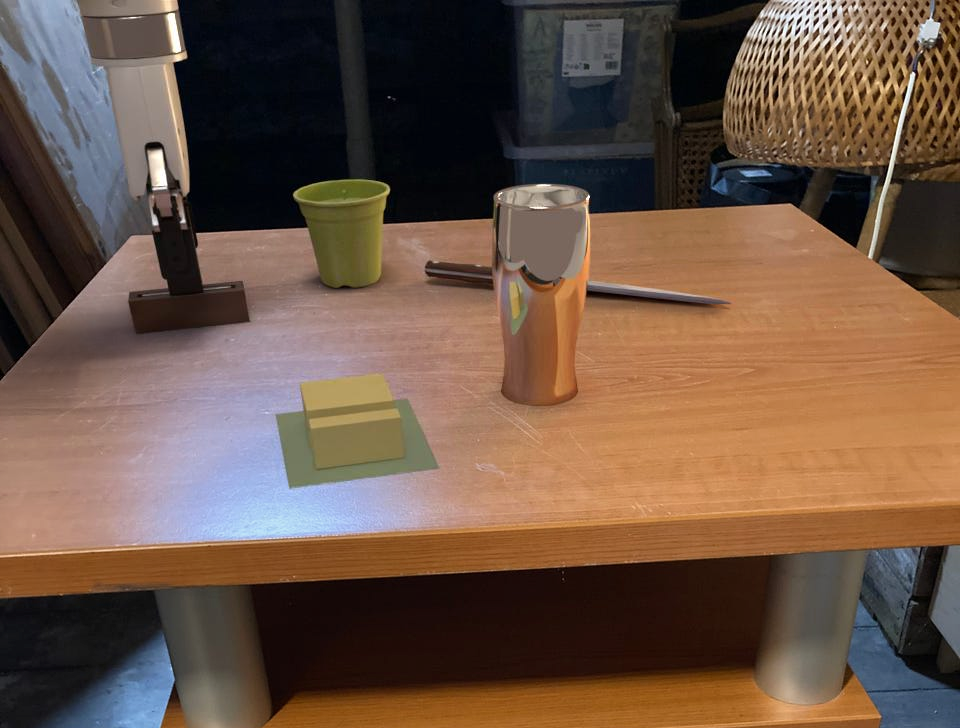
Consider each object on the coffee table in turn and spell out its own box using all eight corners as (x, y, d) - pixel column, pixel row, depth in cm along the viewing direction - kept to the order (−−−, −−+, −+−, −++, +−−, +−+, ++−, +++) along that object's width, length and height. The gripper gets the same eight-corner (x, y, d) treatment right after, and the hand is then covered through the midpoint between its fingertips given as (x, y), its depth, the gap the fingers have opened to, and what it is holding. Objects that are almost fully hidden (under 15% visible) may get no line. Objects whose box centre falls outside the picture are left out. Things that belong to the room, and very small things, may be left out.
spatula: (149, 330, 92) (122, 217, 86) (149, 323, 94) (123, 211, 88) (236, 321, 93) (216, 208, 87) (235, 314, 95) (216, 203, 89)
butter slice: (316, 469, 67) (310, 428, 65) (314, 459, 68) (308, 418, 66) (404, 458, 68) (401, 416, 66) (400, 448, 69) (397, 407, 67)
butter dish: (291, 501, 65) (289, 488, 65) (277, 426, 75) (275, 413, 74) (440, 481, 67) (439, 467, 66) (408, 410, 76) (407, 397, 76)
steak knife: (437, 265, 104) (436, 247, 103) (735, 297, 96) (738, 278, 95) (421, 281, 101) (420, 263, 100) (728, 316, 93) (731, 297, 92)
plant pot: (339, 301, 97) (329, 207, 92) (287, 280, 103) (274, 191, 98) (414, 279, 102) (409, 189, 97) (361, 261, 108) (352, 174, 103)
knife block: (135, 333, 92) (127, 301, 90) (136, 323, 94) (129, 291, 92) (249, 321, 93) (244, 289, 92) (248, 312, 96) (242, 280, 94)
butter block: (311, 451, 69) (306, 410, 67) (305, 421, 73) (299, 382, 71) (397, 440, 70) (393, 399, 68) (386, 411, 74) (382, 372, 72)
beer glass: (536, 376, 81) (538, 178, 72) (603, 400, 77) (613, 193, 68) (475, 403, 77) (469, 196, 68) (542, 429, 73) (544, 213, 64)
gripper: (94, 31, 86) (141, 241, 96) (78, 56, 72) (135, 297, 83) (183, 26, 87) (220, 233, 98) (183, 49, 74) (226, 287, 84)
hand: (181, 262), depth 90 cm, fingers open, 8 cm apart
